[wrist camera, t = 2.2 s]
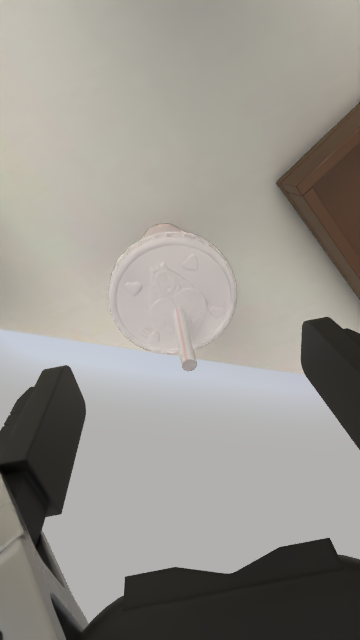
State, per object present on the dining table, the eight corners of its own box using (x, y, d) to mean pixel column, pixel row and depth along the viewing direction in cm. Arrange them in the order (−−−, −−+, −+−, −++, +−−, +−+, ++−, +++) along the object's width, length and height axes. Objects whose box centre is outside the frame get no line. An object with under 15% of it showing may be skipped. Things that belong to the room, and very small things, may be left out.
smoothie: (144, 298, 25) (142, 437, 13) (106, 226, 22) (53, 316, 10) (216, 268, 24) (288, 383, 12) (187, 188, 21) (242, 234, 9)
